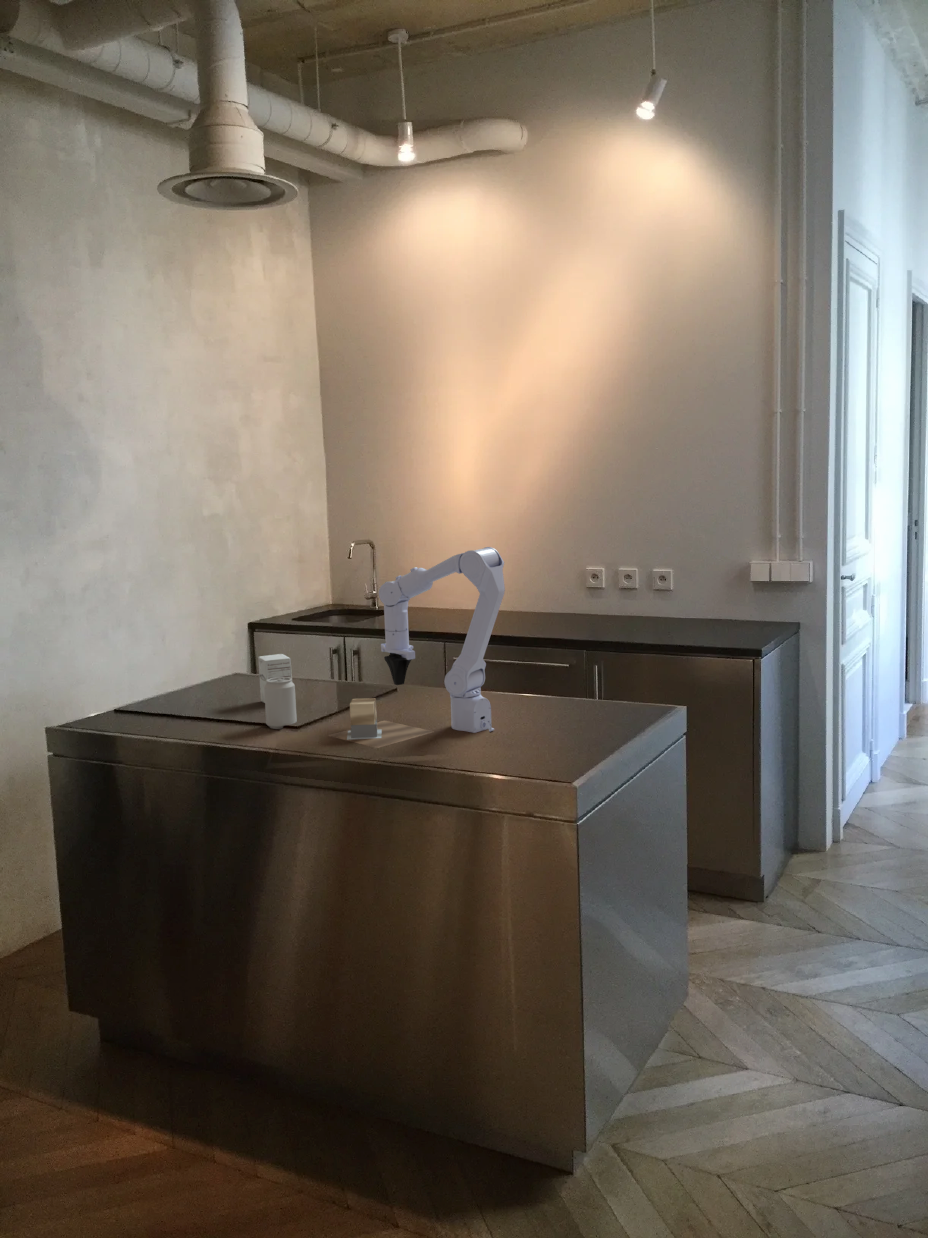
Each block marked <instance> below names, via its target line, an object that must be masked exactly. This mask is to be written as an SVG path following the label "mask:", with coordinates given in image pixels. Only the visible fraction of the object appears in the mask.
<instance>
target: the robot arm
mask: <svg viewBox="0 0 928 1238" xmlns="http://www.w3.org/2000/svg"><path fill="white" fill-rule="evenodd" d="M504 565H505V561H504V559H503V558H502V556H501V554H500V553H499V551H498V550H497V549H496V548H494V547H491V546H487V547H483V548H478V549H474V550H467V551H465V552H461V553H457V554H456V555H452V556H450V557H448V558H447V559H444V560H443V561H442V562H439V563H437V564H436V565H434V566H432V567H431V568H428V569H426V568H424V567H417V566H415V567H412V568H410V571H409V572H408V573H406V574H404V575H397V576H396V577H395V580H392V581H385V582H384V583H383V584H381V585H380V587H379V588H378V597H379V600H380V603H381V602H382V604H383V613H384V617H383V618H384V634H385V635H384V636H385V639H384V640H385V643H380V652H382V653H384V652H385V653H388V654H389V655H386V656H384V660H385V662H386V664H387V667H388V668H389V671H390V674H391V677H392V682H393V684H394V685H396V686H400V685H405V679H406V676H407V671H408V668H409V665H410V663H411V661H412V660H415V659H416V651H415V650H413V649H414V645H411V644H410V636H409V634H410V633H409V632H410V631H409V614H408V611H409V610H408V608H409V601H410V600H411V599H412V598H414V597H416V596H419V595H421V594H423V593H425V592H427V591H429V590H432V587H433V584H434V582H437V581H438V580H440V579H443V578H446V577H448V576H450V575H452V574H454V573H457V574H458V575H460V574H463V576H465V577H466V578H467V579H468V580H469V581H470V582H471V583H472V584H473V585H474V587H476V590H477V591H478V592H479V596H478V599H477V602H476V604H475V608H474V611H473V615H472V617H471V621H470V623H469V626H468V630H467V634H466V637H465V640H464V643H463V645H462V649H461V652H460V654H459V656H458V657H457V658H456V660H454V662H453V664H452V666H451V669H450V670H449V671H448V672H447V673H446V674H445V676H444V682H443V683H444V687H445V689H446V691H447V692H448V693H449V698H450V720H451V721H450V722H451V729H453V730H455V731H460V732H461V731H464V732H469V733H473V734H476V733H479V732H482V731H486V730H488V732H490V733H491V732H492V731H493V732H494V731H495V728H494V727H492V706H491V702H490V700H489V699H488V698H486V697H484V696H483V695H482V690H481V689H482V688H481V687H482V686H483V685H484V684H485V681H486V672H485V669H486V666H487V663H486V662H485V660H484V657H485V654H486V651H487V648H488V644H489V641H490V638H491V635H492V633H493V629H494V626H495V623H496V621H497V617H498V615H499V611H500V608H501V605H502V602H503V600H504V599H503V598H504V596H505V592H506V587H505V578H504V572H503V571H504V569H503V568H504Z"/></svg>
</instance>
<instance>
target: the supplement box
mask: <svg viewBox="0 0 928 1238" xmlns="http://www.w3.org/2000/svg"><path fill="white" fill-rule="evenodd" d="M257 658H258V674H259V675H258V677H259V690H260V702H262V703H264V704H265V694H264V686H265V685H266V684H267V682H266V680H268V679H270V678H276V677H289V678H291V679H292V680H291V681H292V682H293V675H292V673H293V672H292V661H291V657H289V656H288V655H285V654H284V653H276V654H268V655H262V656H261V655H260V656H258V657H257Z"/></svg>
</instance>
